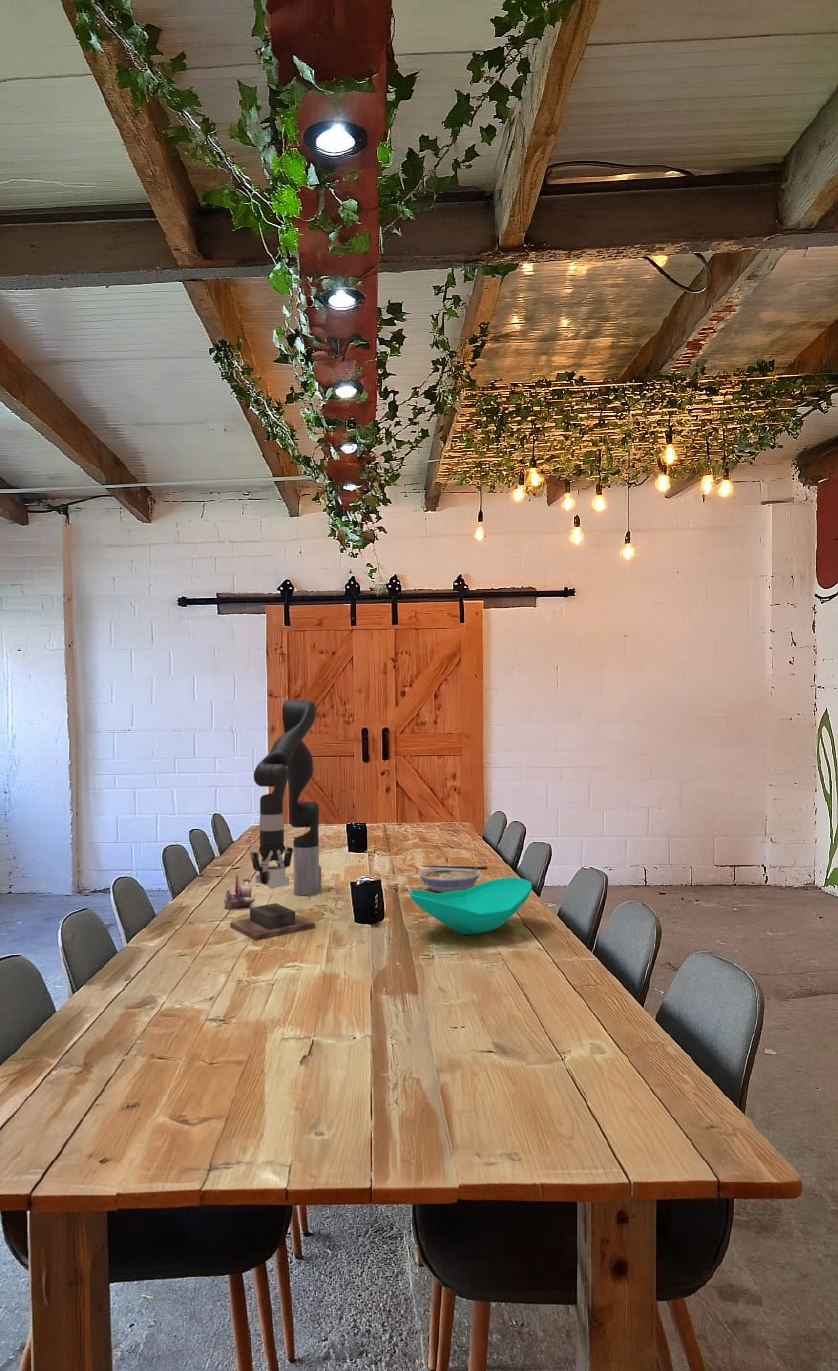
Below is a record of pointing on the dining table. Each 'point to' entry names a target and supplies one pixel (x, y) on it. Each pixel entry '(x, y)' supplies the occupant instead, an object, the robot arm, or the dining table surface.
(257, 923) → the stand
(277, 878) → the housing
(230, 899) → the brake caliper
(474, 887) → the table top decor
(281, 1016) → the dining table surface
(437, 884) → the ramen bowl
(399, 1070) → the dining table surface
